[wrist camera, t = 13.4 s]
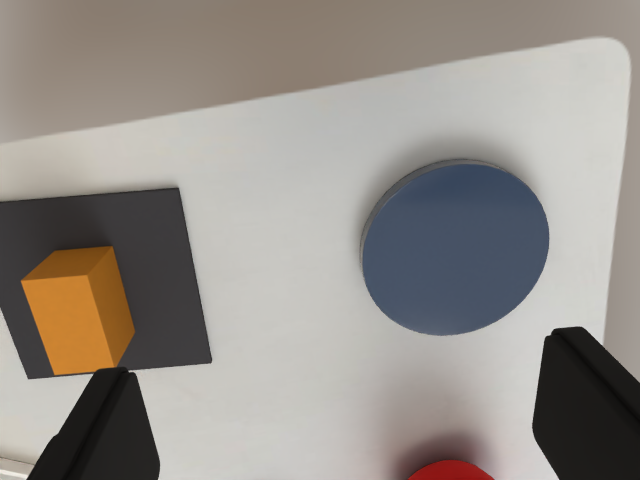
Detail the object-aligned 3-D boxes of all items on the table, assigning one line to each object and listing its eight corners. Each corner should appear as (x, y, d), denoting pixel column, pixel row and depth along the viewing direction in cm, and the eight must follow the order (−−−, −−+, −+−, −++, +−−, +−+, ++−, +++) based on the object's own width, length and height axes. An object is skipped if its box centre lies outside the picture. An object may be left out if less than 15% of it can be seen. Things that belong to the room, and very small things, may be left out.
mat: (-36, 204, 35) (-40, 206, 35) (179, 187, 36) (177, 189, 35) (30, 376, 41) (27, 379, 41) (212, 360, 42) (211, 363, 41)
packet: (54, 250, 37) (20, 280, 32) (112, 245, 37) (86, 274, 32) (82, 336, 40) (54, 375, 35) (135, 331, 40) (115, 370, 35)
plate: (356, 167, 36) (359, 172, 34) (551, 151, 36) (561, 156, 35) (362, 333, 42) (364, 343, 40) (530, 318, 42) (538, 328, 40)
